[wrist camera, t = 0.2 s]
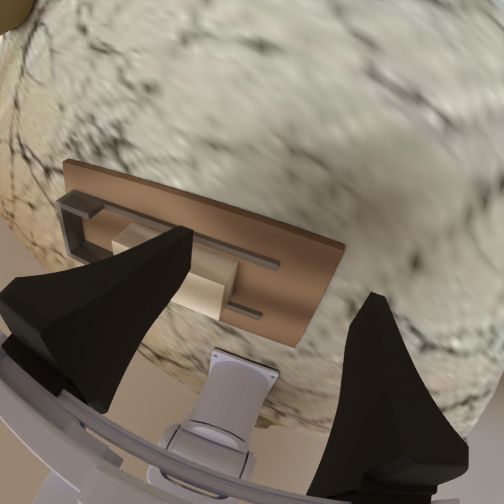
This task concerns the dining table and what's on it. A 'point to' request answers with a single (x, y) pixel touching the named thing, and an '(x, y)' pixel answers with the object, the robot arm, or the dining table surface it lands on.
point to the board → (206, 244)
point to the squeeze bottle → (13, 13)
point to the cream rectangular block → (192, 273)
